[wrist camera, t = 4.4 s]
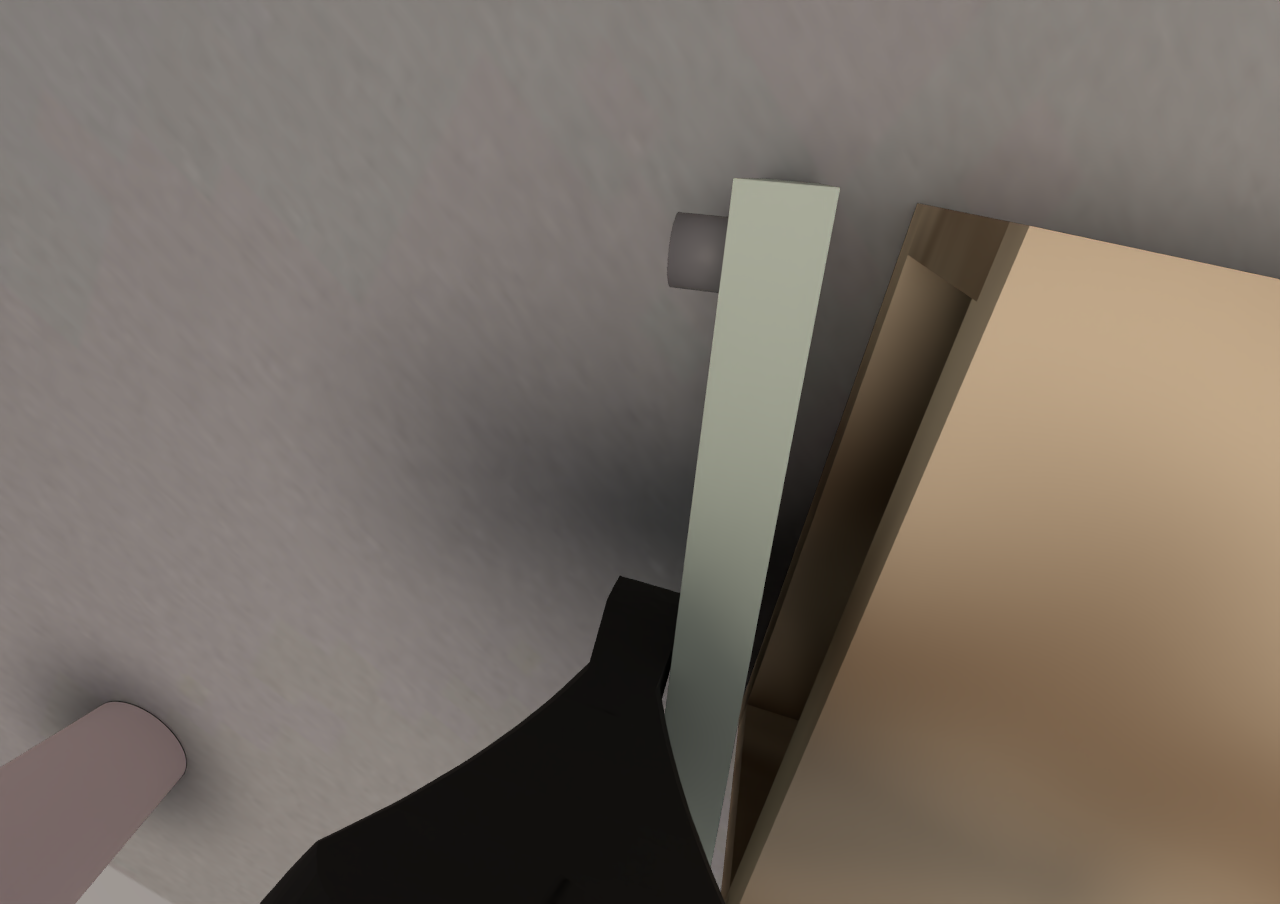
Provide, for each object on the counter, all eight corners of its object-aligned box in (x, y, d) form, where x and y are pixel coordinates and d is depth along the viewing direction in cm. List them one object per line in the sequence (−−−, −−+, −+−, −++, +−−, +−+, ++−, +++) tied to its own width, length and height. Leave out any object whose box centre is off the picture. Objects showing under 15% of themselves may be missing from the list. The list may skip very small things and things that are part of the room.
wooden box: (1071, 808, 15) (1220, 1151, 10) (740, 704, 16) (713, 965, 11) (1425, 312, 10) (2122, 458, 5) (917, 203, 11) (1028, 225, 6)
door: (726, 703, 16) (693, 955, 11) (652, 687, 16) (585, 923, 11) (819, 183, 11) (840, 187, 6) (711, 174, 12) (642, 169, 6)
